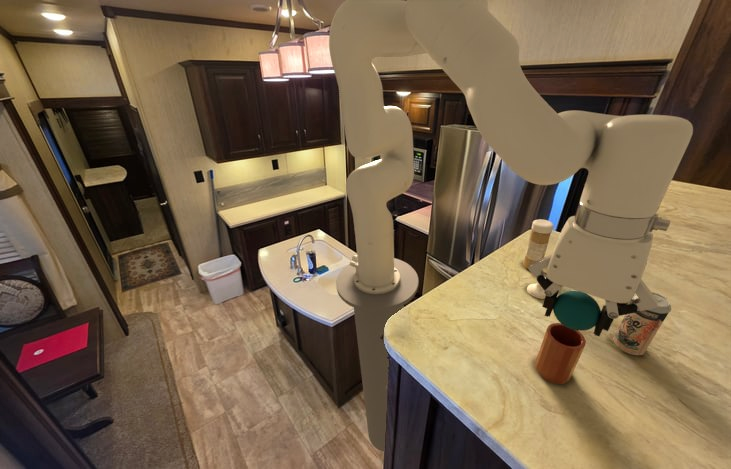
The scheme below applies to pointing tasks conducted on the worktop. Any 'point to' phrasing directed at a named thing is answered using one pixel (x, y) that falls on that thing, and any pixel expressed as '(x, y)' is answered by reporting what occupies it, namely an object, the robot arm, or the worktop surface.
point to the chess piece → (537, 289)
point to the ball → (577, 310)
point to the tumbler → (559, 353)
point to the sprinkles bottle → (538, 241)
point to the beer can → (641, 327)
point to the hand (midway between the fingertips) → (572, 319)
